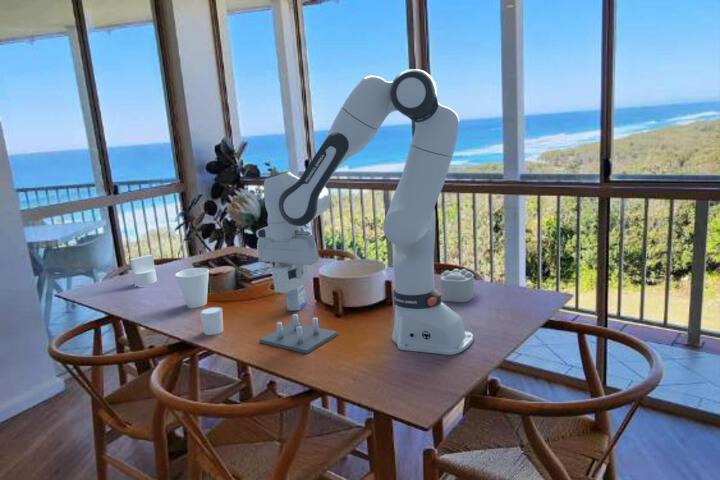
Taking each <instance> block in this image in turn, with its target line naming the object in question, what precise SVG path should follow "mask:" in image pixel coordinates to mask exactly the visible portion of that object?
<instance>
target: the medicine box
mask: <svg viewBox="0 0 720 480" xmlns="http://www.w3.org/2000/svg"><path fill="white" fill-rule="evenodd" d="M305 286H306V284H305V285H302V286H300V287H298V288H296V289H294V290H291V291H289V292H287V293H285V298H286V306H287V311H289V312H291V311H292V312H293V311H301V310H302V308H303V307H304V306H305V305H306V304H307V296H306V287H305Z"/></svg>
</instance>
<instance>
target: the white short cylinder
mask: <svg viewBox="0 0 720 480" xmlns="http://www.w3.org/2000/svg"><path fill="white" fill-rule="evenodd" d="M199 316H200V320H201V324H202V328H203V332H204V334H205V335H206V336H213V335H218V334H221V333H222V332H223V331H224V318H223V317H224V315H223V308H222V307H219V306H212V307H210V306H209V307H207V308H204V309H201V310H200V311H199Z"/></svg>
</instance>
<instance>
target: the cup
mask: <svg viewBox="0 0 720 480" xmlns="http://www.w3.org/2000/svg"><path fill="white" fill-rule="evenodd" d="M209 274H210V269H209V268H207V267H193V268H186V269H182V270H181V271H178V272H176V273H175V274H174V276H175V279H176V281H177V283H178V286H179V288H180V291H181V294H182V296H183V298H184V301H185V303H186V307H187V308H189V309H196V308H197V309H198V308H202V307H204V306H206V305H207V303H208V291H209V289H208V288H209V276H210V275H209Z"/></svg>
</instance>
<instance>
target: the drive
mask: <svg viewBox="0 0 720 480" xmlns="http://www.w3.org/2000/svg"><path fill="white" fill-rule="evenodd" d="M296 270H297V267H295V264H291V263H283V264H281V265H278V266H273V267H272V268H271V272H272V278H273V286H274V292H275V293H283V294H286V293H287V292H289V291H291V290H294V289H296V288H298V287H300V286H302V285H305V286H306V285H307V284H309V283H310V282H309V275H308V274H309V273H308V265H304V267H303V270H302V278H300V279H296V278H294V272H296Z"/></svg>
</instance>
